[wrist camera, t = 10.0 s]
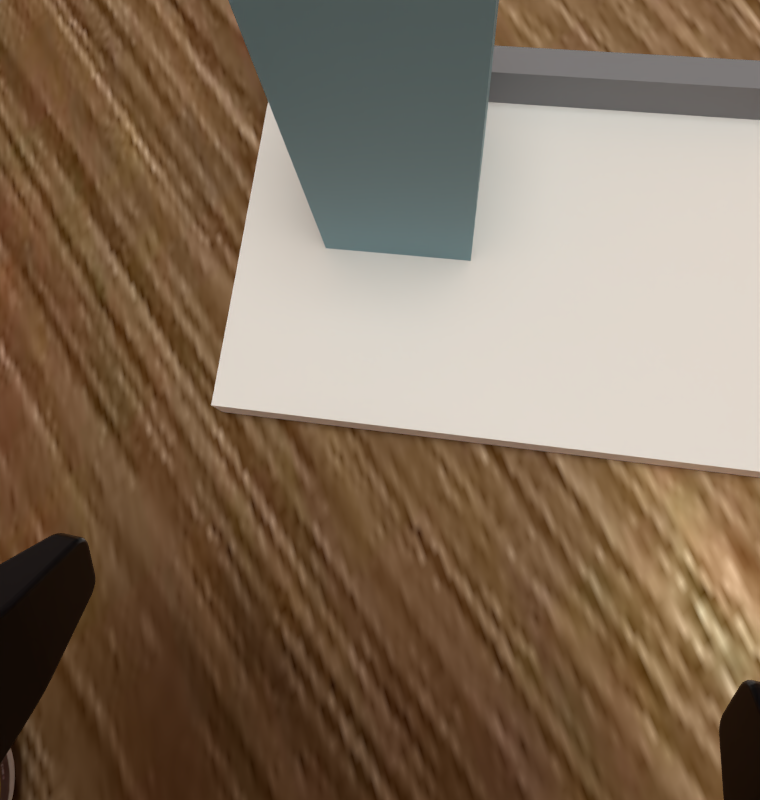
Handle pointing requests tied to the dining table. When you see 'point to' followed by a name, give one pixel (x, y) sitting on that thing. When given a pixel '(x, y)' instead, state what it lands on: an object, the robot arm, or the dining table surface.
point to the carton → (380, 114)
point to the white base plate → (536, 278)
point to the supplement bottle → (7, 777)
